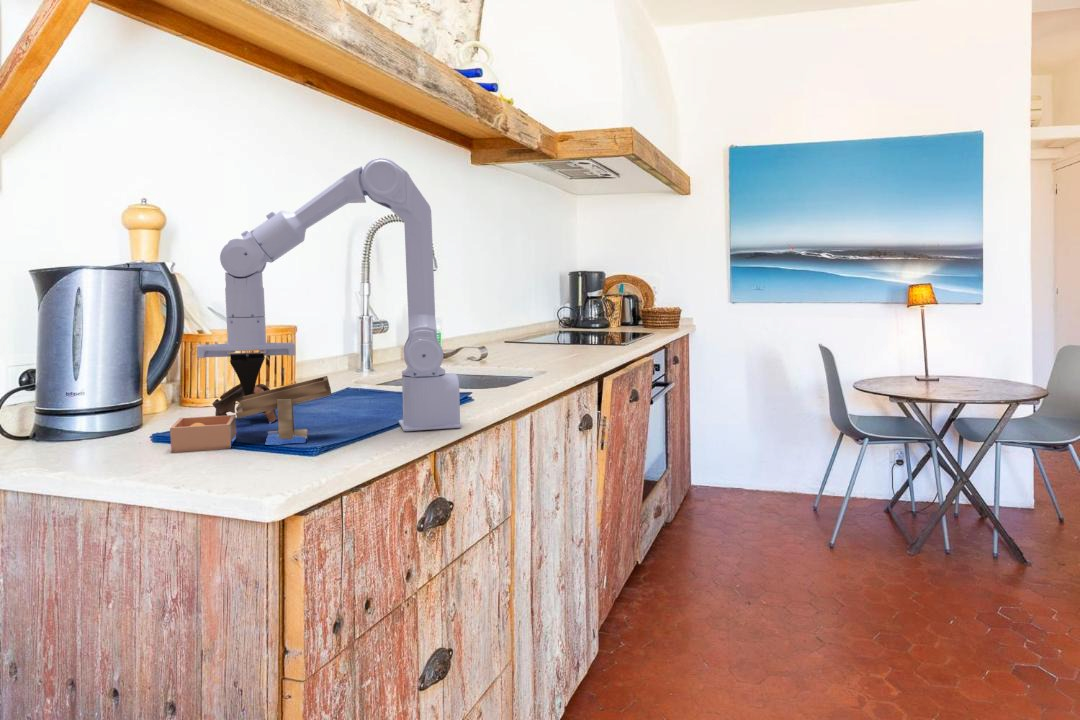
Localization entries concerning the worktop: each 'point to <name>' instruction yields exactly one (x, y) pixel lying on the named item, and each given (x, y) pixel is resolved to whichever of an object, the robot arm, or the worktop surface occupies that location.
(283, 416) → the fulcrum stand
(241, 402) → the catapult lever
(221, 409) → the dark brown bent piece
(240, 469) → the worktop surface
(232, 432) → the open cardboard tray
